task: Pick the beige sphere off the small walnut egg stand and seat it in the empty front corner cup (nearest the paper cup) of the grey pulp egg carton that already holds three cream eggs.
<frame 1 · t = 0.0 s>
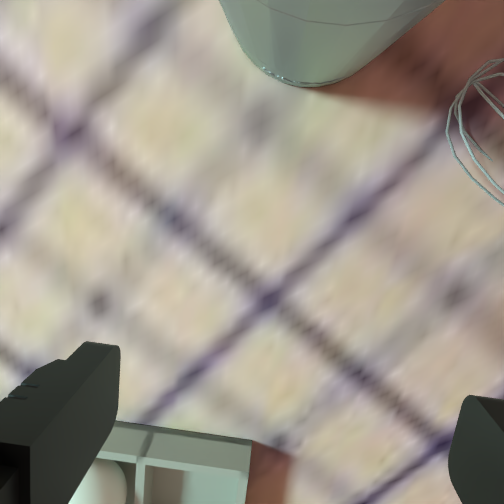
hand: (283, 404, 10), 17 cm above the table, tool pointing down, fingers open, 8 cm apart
cream egg 3: (88, 495, 29), point 3 cm above the table, touching egg carton
egg carton: (105, 498, 33), on the table
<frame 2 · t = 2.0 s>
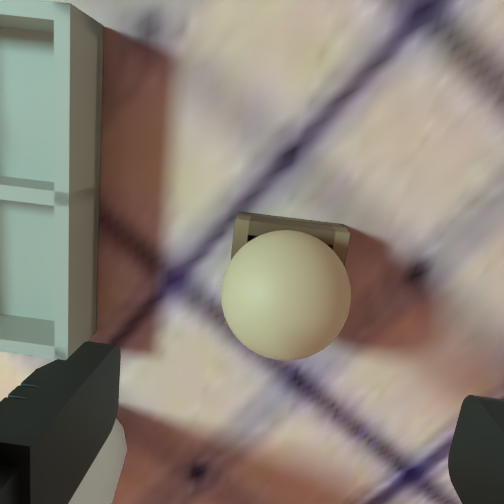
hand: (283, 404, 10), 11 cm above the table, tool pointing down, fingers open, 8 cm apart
beige sphere: (285, 294, 17), point 4 cm above the table, touching egg stand
foam cup: (72, 438, 24), on the table
egg stand: (284, 267, 20), on the table
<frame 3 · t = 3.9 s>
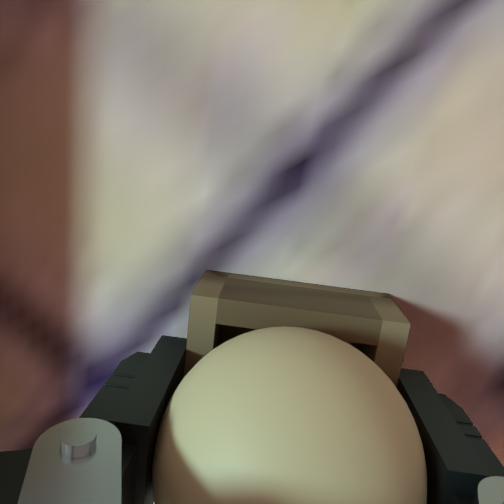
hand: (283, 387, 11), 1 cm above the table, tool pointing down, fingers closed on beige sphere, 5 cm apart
beige sphere: (286, 459, 8), point 4 cm above the table, touching egg stand, gripper
egg stand: (284, 364, 12), on the table
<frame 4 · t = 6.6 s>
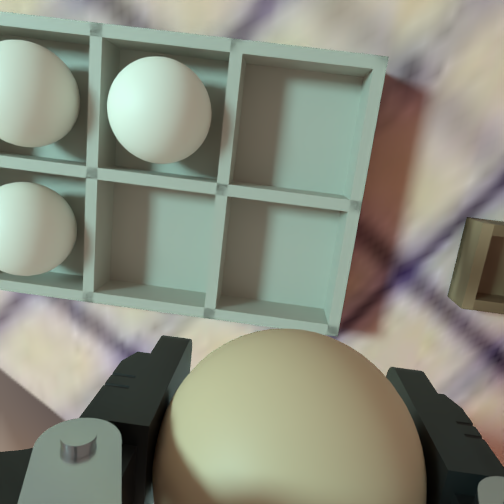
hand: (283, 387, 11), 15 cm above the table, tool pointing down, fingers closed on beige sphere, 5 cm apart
cream egg 2: (26, 229, 23), point 3 cm above the table, touching egg carton
cream egg 3: (160, 112, 21), point 3 cm above the table, touching egg carton
egg carton: (170, 177, 25), on the table
beige sphere: (286, 461, 8), point 18 cm above the table, touching gripper
cream egg 1: (26, 95, 21), point 3 cm above the table, touching egg carton
egg stand: (498, 263, 25), on the table
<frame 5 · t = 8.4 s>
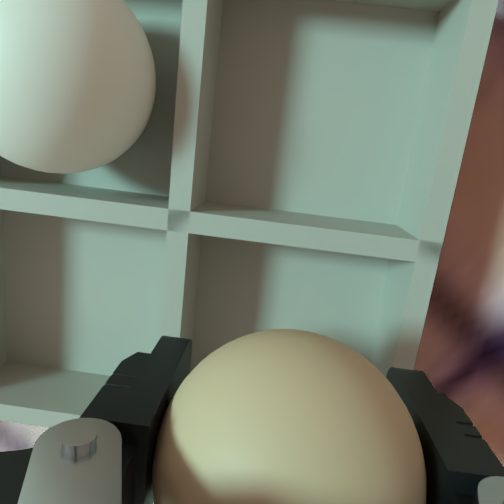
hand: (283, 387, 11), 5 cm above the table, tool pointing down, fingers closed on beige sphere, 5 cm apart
cream egg 3: (55, 73, 11), point 3 cm above the table, touching egg carton
egg carton: (101, 194, 15), on the table
beige sphere: (285, 461, 8), point 7 cm above the table, touching gripper
when the fingers open (4 cm above the table, at t = 9.5 s): beige sphere drops 3 cm, resting on egg carton.
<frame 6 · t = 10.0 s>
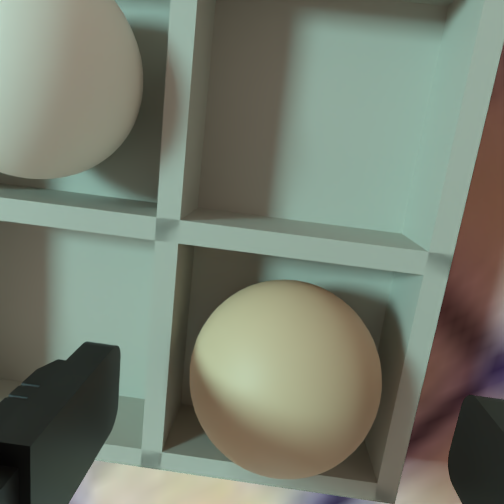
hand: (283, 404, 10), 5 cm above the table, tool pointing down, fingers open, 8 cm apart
cream egg 3: (33, 70, 10), point 3 cm above the table, touching egg carton
egg carton: (87, 200, 14), on the table
beige sphere: (284, 373, 11), point 3 cm above the table, touching egg carton
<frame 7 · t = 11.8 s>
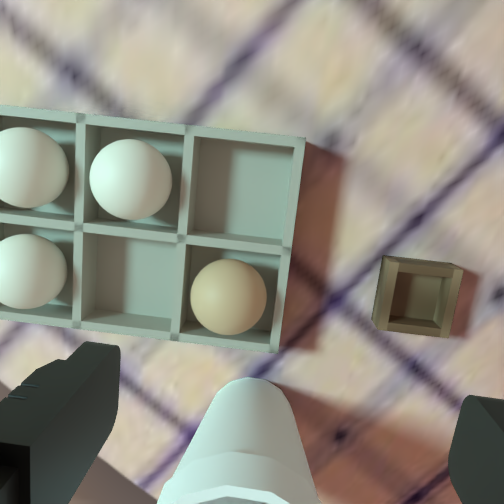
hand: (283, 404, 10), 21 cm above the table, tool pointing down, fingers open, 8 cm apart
cream egg 2: (26, 271, 29), point 3 cm above the table, touching egg carton
cream egg 3: (131, 180, 27), point 3 cm above the table, touching egg carton
egg carton: (143, 226, 31), on the table
beige sphere: (228, 296, 28), point 3 cm above the table, touching egg carton
foam cup: (251, 412, 33), on the table
cream egg 1: (26, 168, 27), point 3 cm above the table, touching egg carton
egg stand: (410, 291, 31), on the table
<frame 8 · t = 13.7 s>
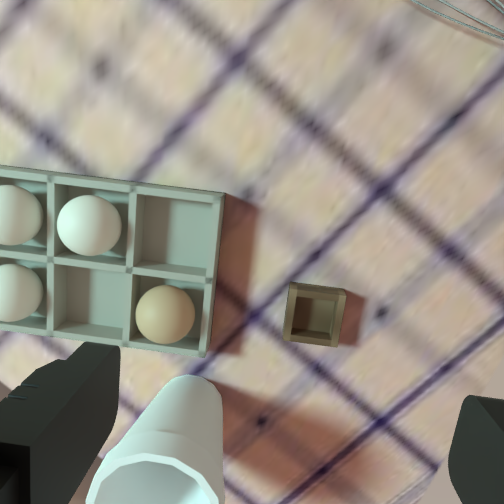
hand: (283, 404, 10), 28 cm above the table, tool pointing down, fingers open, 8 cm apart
cream egg 2: (11, 292, 37), point 3 cm above the table, touching egg carton
cream egg 3: (90, 225, 35), point 3 cm above the table, touching egg carton
egg carton: (103, 256, 39), on the table
beige sphere: (165, 314, 37), point 3 cm above the table, touching egg carton
foam cup: (191, 402, 42), on the table
cream egg 1: (9, 215, 35), point 3 cm above the table, touching egg carton
egg stand: (312, 310, 39), on the table
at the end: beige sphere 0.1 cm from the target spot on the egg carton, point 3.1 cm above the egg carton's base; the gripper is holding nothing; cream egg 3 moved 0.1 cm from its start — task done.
